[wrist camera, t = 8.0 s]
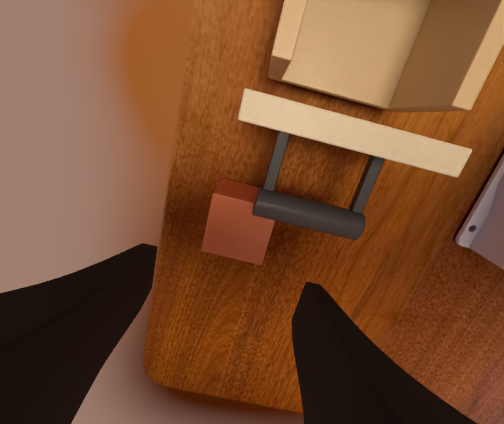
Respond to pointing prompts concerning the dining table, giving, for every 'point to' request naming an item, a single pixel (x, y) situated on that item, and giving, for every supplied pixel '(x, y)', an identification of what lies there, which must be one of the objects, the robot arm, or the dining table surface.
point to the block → (236, 224)
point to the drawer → (371, 89)
